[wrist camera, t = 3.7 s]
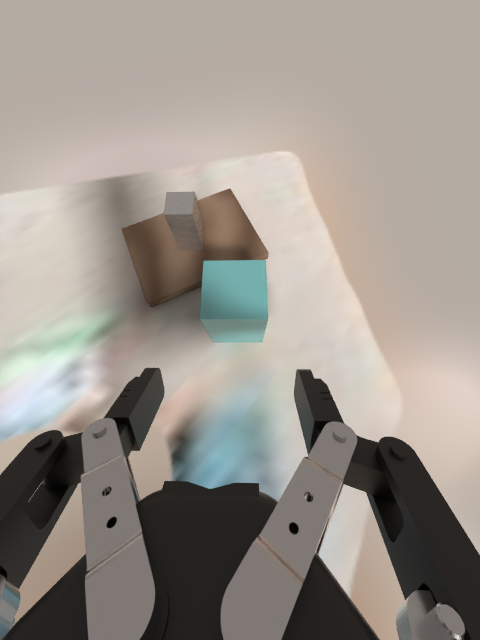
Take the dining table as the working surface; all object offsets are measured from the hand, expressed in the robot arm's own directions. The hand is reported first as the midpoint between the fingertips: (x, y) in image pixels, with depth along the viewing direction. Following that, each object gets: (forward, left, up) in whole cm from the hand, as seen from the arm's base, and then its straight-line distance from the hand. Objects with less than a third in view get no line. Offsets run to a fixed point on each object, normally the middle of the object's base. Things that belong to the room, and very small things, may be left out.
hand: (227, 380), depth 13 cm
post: (+2, +19, -11) cm, 22 cm away
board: (+2, +19, -12) cm, 23 cm away
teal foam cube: (+3, +7, -12) cm, 14 cm away
